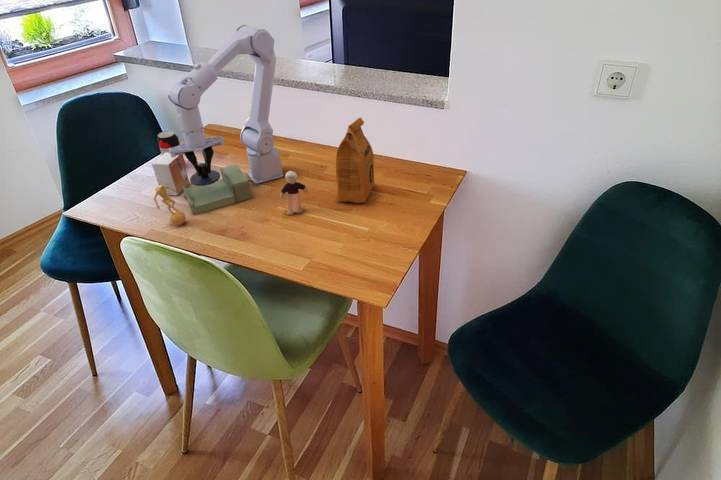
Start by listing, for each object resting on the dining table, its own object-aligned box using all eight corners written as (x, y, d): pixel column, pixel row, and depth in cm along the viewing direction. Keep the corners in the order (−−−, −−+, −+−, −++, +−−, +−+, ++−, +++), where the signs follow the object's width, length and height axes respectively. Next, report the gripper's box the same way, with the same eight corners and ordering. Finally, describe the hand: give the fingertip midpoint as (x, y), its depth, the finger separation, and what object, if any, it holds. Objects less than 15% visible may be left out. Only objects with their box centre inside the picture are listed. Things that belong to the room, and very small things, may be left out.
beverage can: (189, 165, 161) (180, 132, 154) (174, 173, 157) (164, 139, 150) (177, 161, 164) (167, 128, 157) (162, 169, 159) (151, 135, 152)
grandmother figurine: (286, 218, 132) (279, 178, 125) (281, 212, 135) (274, 172, 128) (311, 210, 135) (307, 170, 128) (306, 204, 138) (301, 165, 131)
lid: (215, 169, 143) (212, 155, 140) (223, 180, 136) (220, 166, 134) (187, 176, 139) (183, 162, 137) (194, 188, 133) (190, 174, 131)
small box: (177, 196, 145) (168, 165, 138) (161, 195, 146) (150, 163, 139) (190, 183, 151) (181, 152, 145) (174, 182, 152) (165, 151, 146)
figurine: (176, 233, 129) (163, 194, 121) (157, 230, 130) (144, 191, 123) (194, 217, 135) (183, 179, 128) (176, 214, 137) (164, 176, 129)
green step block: (239, 181, 151) (236, 164, 147) (251, 198, 142) (248, 180, 139) (185, 196, 145) (180, 178, 141) (194, 214, 136) (189, 196, 132)
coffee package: (380, 186, 145) (378, 117, 132) (365, 207, 135) (362, 135, 122) (349, 182, 148) (345, 113, 135) (333, 202, 138) (327, 130, 126)
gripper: (167, 140, 123) (181, 186, 131) (222, 127, 129) (232, 172, 137) (162, 130, 128) (175, 175, 136) (215, 119, 134) (225, 162, 142)
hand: (203, 173), depth 137 cm, fingers closed on lid, 2 cm apart
